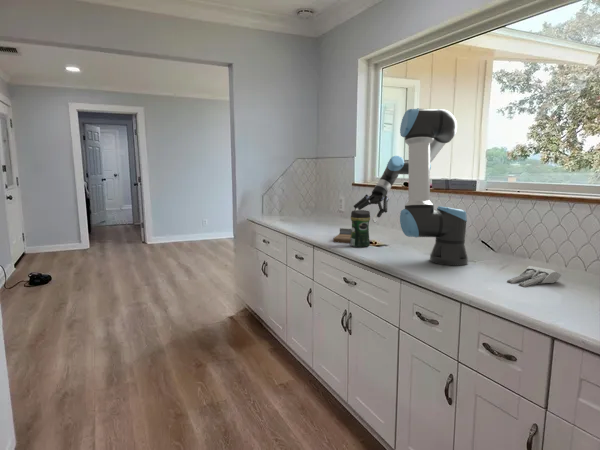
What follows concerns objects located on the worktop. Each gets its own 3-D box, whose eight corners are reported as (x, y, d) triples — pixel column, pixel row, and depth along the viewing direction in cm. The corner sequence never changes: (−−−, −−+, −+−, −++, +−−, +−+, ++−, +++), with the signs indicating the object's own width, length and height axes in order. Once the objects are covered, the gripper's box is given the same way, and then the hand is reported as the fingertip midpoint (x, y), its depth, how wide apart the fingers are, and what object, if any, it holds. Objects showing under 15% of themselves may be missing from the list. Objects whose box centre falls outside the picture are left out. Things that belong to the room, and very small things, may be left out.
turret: (501, 287, 134) (501, 274, 133) (538, 273, 141) (538, 261, 141) (528, 295, 125) (528, 282, 124) (566, 280, 133) (566, 267, 132)
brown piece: (359, 243, 200) (359, 234, 200) (333, 242, 204) (333, 232, 204) (364, 238, 219) (364, 229, 218) (340, 236, 223) (340, 228, 222)
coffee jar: (364, 244, 199) (365, 209, 196) (371, 247, 191) (373, 210, 189) (347, 245, 196) (348, 209, 193) (354, 248, 188) (355, 211, 186)
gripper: (404, 196, 196) (386, 227, 188) (365, 193, 214) (347, 222, 206) (399, 186, 191) (380, 217, 183) (359, 184, 209) (341, 213, 201)
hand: (362, 220), depth 194 cm, fingers open, 13 cm apart
